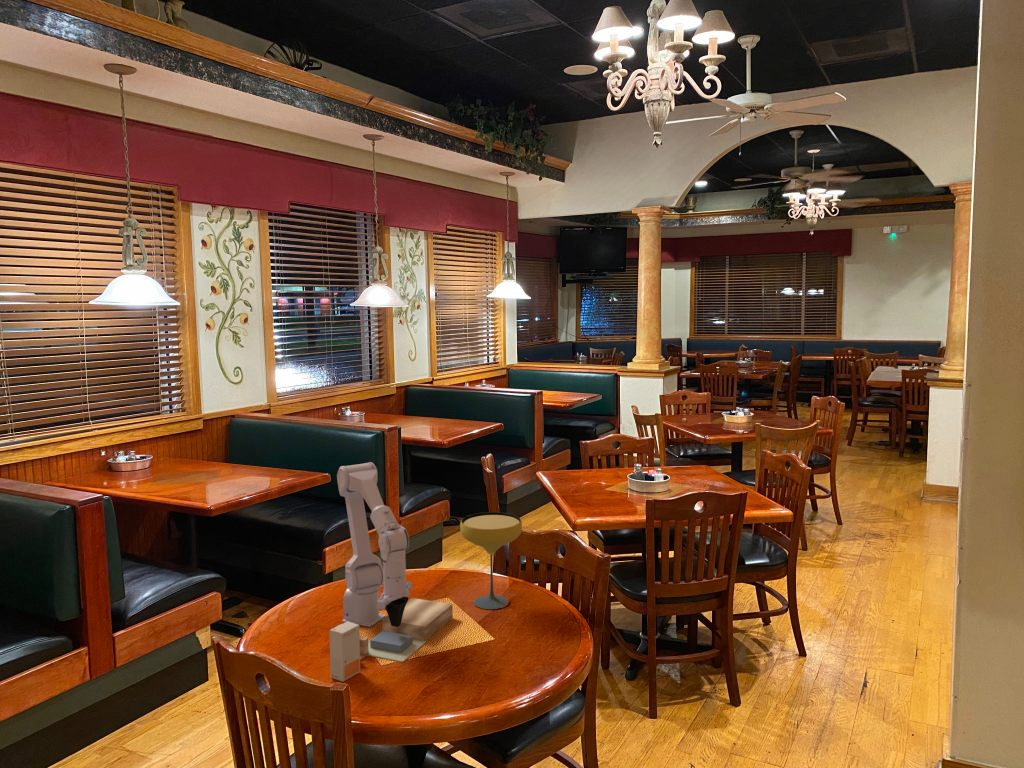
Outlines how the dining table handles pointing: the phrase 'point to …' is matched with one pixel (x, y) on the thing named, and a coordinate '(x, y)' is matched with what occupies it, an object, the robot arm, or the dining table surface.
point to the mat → (393, 655)
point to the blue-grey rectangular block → (391, 642)
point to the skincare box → (344, 651)
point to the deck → (421, 619)
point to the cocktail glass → (491, 543)
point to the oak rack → (363, 647)
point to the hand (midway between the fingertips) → (395, 625)
